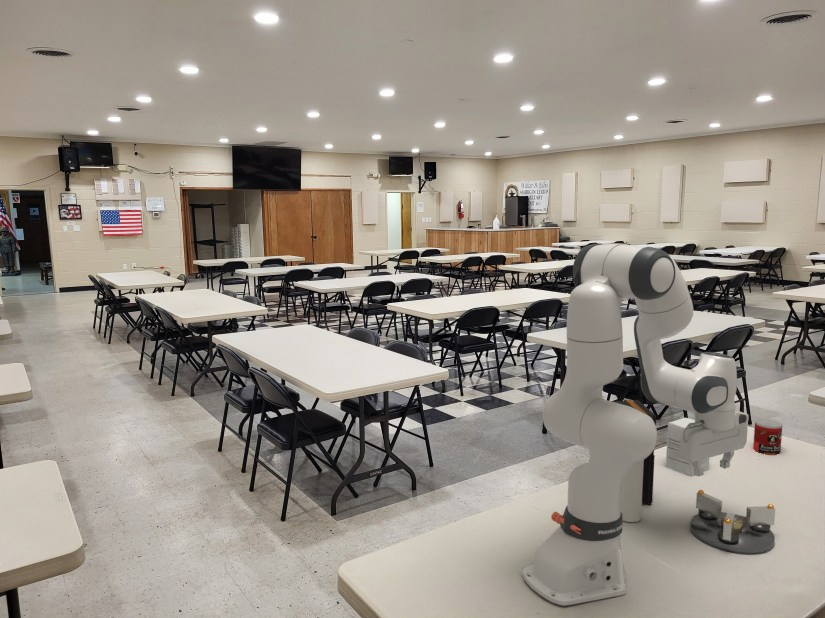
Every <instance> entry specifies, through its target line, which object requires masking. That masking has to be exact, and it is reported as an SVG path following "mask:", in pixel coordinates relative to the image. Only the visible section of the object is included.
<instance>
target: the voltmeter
mask: <svg viewBox="0 0 825 618" xmlns="http://www.w3.org/2000/svg"><path fill="white" fill-rule="evenodd" d="M614 402H615V403H619V404H623V405H626V406H630V407H632V408H634V409H636V410H638V411H640V412H642V413H644V414H646V415H648V416H650V417H651V418H652V419H653V421H654V423H655V426H656V427H657V416H656V414H655V413H653V412H652V410H650V409H649V408H647V407H646V406H645V405H644V404H643V403H642V402H641V401H640V400H638V399H635V400H632V399H623V400H616V401H614ZM654 472H655V449H654V450H653V451H652V453H651V454H650V455H649V456H648V457H647V458H645V459H644V465H643V487H642V504H647V505H649V506H651V505H652V504H653V496H654V477H655V475H654V474H655V473H654Z"/></svg>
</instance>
